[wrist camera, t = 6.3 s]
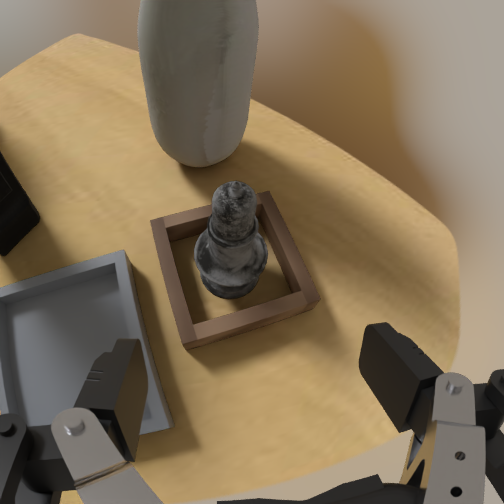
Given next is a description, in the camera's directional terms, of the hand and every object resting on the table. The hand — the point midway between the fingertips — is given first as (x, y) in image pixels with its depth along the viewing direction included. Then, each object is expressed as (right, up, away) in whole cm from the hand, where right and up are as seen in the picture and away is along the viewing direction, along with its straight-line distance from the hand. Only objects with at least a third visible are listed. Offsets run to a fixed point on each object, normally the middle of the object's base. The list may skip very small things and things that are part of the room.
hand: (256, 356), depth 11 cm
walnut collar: (-2, +2, +18) cm, 18 cm away
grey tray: (-16, -6, +12) cm, 21 cm away
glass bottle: (-6, +15, +25) cm, 30 cm away
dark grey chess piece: (-2, +2, +18) cm, 18 cm away
